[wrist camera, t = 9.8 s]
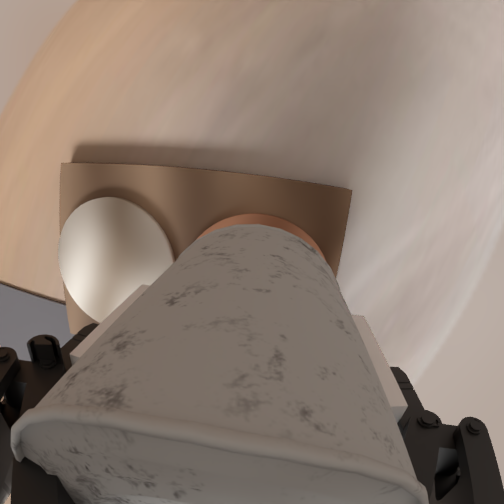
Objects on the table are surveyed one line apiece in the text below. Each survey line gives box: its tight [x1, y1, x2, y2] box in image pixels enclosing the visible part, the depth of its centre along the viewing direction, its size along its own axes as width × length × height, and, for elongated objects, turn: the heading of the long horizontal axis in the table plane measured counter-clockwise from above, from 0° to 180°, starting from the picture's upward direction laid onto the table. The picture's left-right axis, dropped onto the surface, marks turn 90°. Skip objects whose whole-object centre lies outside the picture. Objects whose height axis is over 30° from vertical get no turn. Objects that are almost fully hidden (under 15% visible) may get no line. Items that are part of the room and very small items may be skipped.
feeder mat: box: [0, 283, 75, 361], centre depth 25 cm, size 14×14×1 cm
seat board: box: [58, 163, 352, 335], centre depth 20 cm, size 20×14×2 cm
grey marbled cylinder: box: [11, 224, 429, 504], centre depth 10 cm, size 10×10×12 cm
